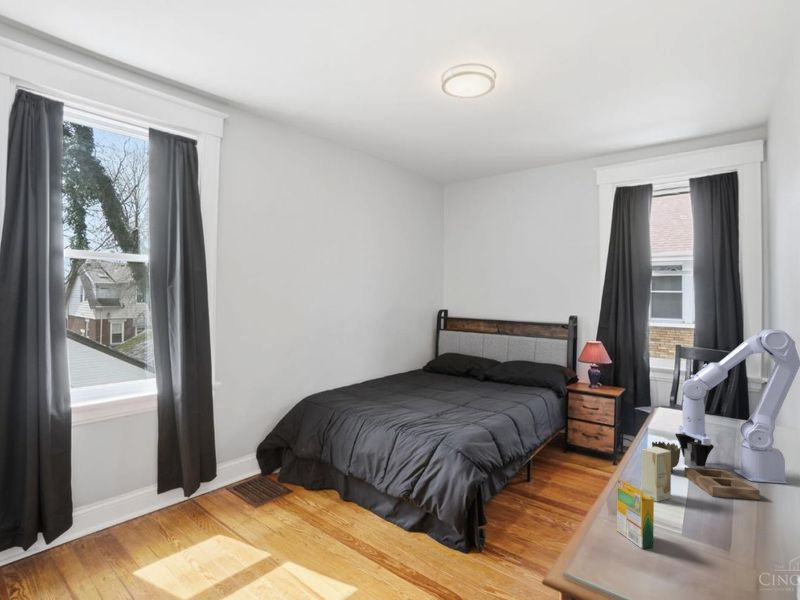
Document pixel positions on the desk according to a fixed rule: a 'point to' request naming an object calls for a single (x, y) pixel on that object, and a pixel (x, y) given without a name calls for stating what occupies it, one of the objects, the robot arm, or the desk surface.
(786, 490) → the desk surface
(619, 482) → the crayon box
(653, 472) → the skincare box
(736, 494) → the socket board
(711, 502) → the desk surface
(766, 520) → the desk surface
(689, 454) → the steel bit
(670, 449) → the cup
